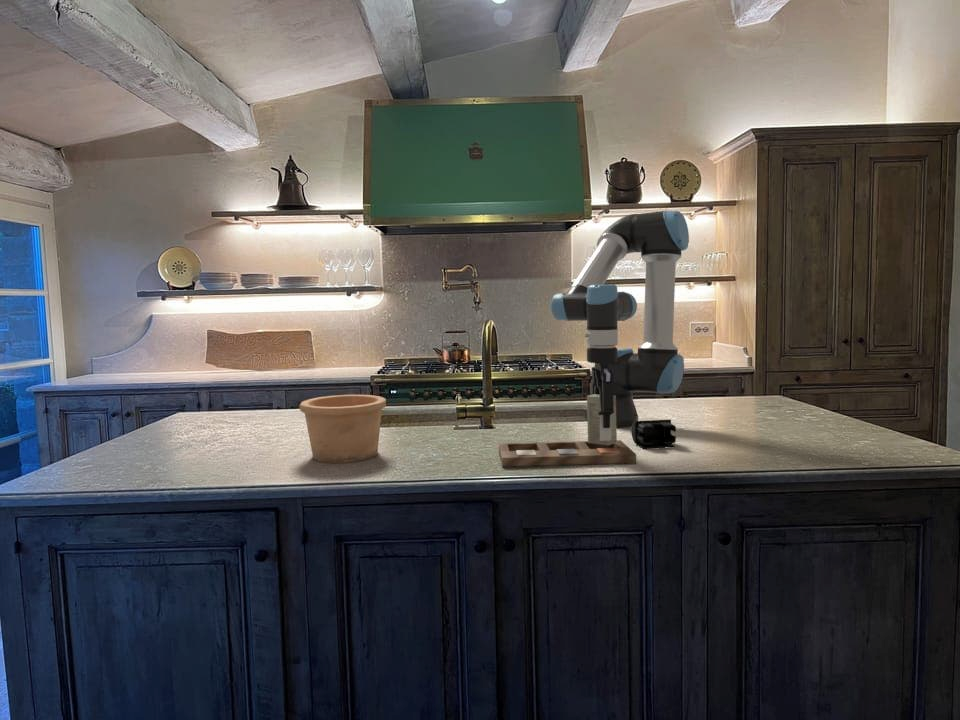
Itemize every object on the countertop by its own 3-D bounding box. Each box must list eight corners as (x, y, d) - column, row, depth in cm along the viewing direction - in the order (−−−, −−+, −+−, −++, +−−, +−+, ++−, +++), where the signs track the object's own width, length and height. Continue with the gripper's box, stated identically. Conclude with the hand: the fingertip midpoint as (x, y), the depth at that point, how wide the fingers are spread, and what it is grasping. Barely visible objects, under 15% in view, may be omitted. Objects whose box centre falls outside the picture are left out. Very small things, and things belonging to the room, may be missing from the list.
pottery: (315, 446, 179) (313, 395, 177) (394, 445, 178) (392, 393, 177) (290, 466, 157) (287, 408, 156) (379, 465, 156) (377, 407, 155)
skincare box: (617, 443, 162) (617, 395, 161) (608, 446, 159) (608, 397, 158) (595, 439, 167) (595, 392, 165) (586, 442, 163) (586, 395, 162)
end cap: (666, 441, 176) (666, 417, 175) (677, 447, 169) (677, 422, 168) (631, 443, 175) (631, 419, 174) (640, 449, 168) (640, 424, 167)
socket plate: (502, 467, 152) (502, 456, 152) (498, 452, 167) (498, 441, 167) (636, 464, 153) (636, 452, 153) (620, 449, 168) (620, 438, 168)
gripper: (579, 343, 170) (580, 429, 172) (595, 350, 150) (595, 446, 153) (607, 343, 170) (607, 428, 173) (627, 349, 150) (627, 445, 153)
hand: (602, 436), depth 163 cm, fingers closed on skincare box, 7 cm apart
